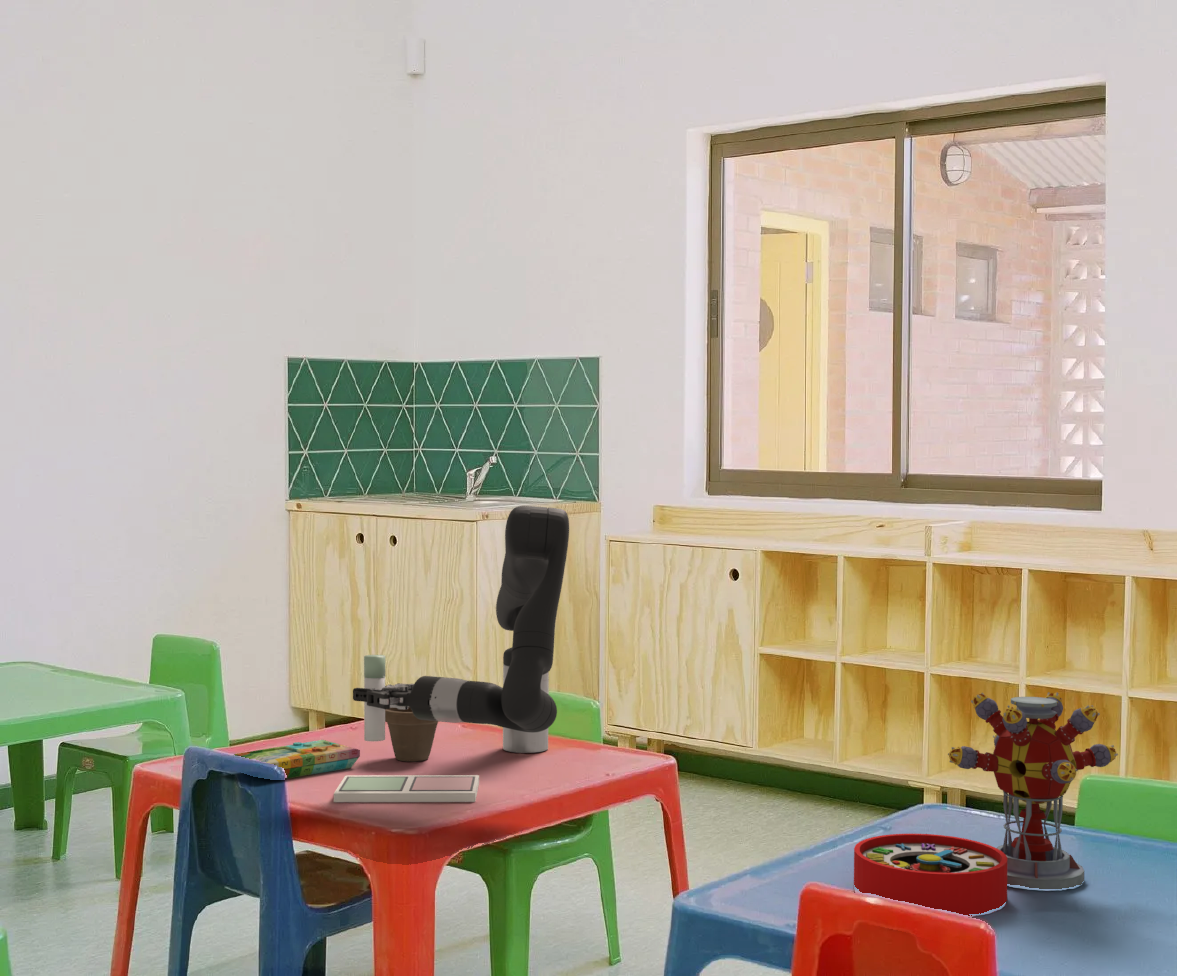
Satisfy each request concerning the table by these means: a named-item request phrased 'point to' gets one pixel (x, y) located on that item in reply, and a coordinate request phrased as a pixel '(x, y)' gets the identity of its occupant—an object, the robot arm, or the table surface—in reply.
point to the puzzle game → (307, 757)
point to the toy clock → (932, 871)
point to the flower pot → (410, 734)
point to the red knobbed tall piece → (1035, 781)
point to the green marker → (372, 715)
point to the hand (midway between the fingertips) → (361, 692)
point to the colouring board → (407, 788)
